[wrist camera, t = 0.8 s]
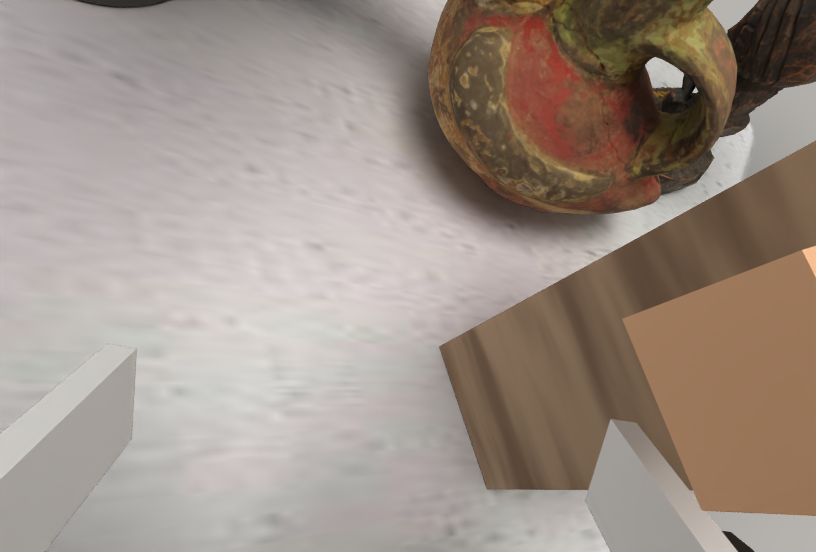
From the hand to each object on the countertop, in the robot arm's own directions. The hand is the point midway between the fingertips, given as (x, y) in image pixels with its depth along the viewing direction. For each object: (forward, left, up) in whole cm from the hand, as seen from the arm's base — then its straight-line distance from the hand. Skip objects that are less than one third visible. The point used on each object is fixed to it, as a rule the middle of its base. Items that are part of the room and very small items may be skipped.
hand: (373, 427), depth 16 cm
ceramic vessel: (-25, +18, -21) cm, 37 cm away
